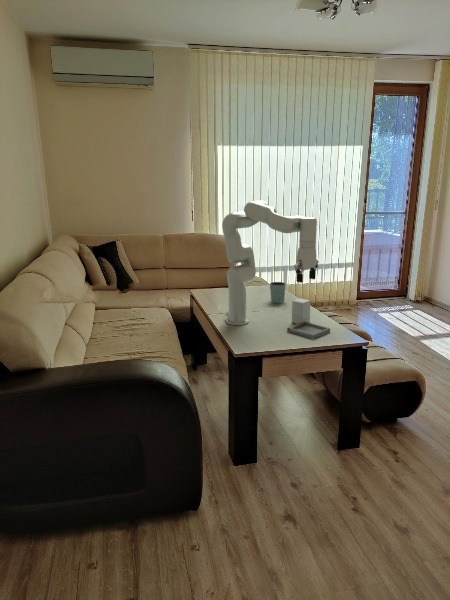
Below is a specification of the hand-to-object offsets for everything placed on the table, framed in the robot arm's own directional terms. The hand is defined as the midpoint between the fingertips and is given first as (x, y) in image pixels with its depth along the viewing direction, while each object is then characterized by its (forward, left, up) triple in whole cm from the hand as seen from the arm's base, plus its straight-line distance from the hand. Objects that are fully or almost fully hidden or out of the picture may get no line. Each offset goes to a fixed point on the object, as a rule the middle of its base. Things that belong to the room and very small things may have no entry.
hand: (306, 280), depth 205 cm
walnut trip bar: (-13, +12, -30) cm, 35 cm away
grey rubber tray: (-5, +12, -30) cm, 33 cm away
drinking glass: (-55, +46, -30) cm, 78 cm away
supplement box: (-18, +22, -30) cm, 41 cm away
